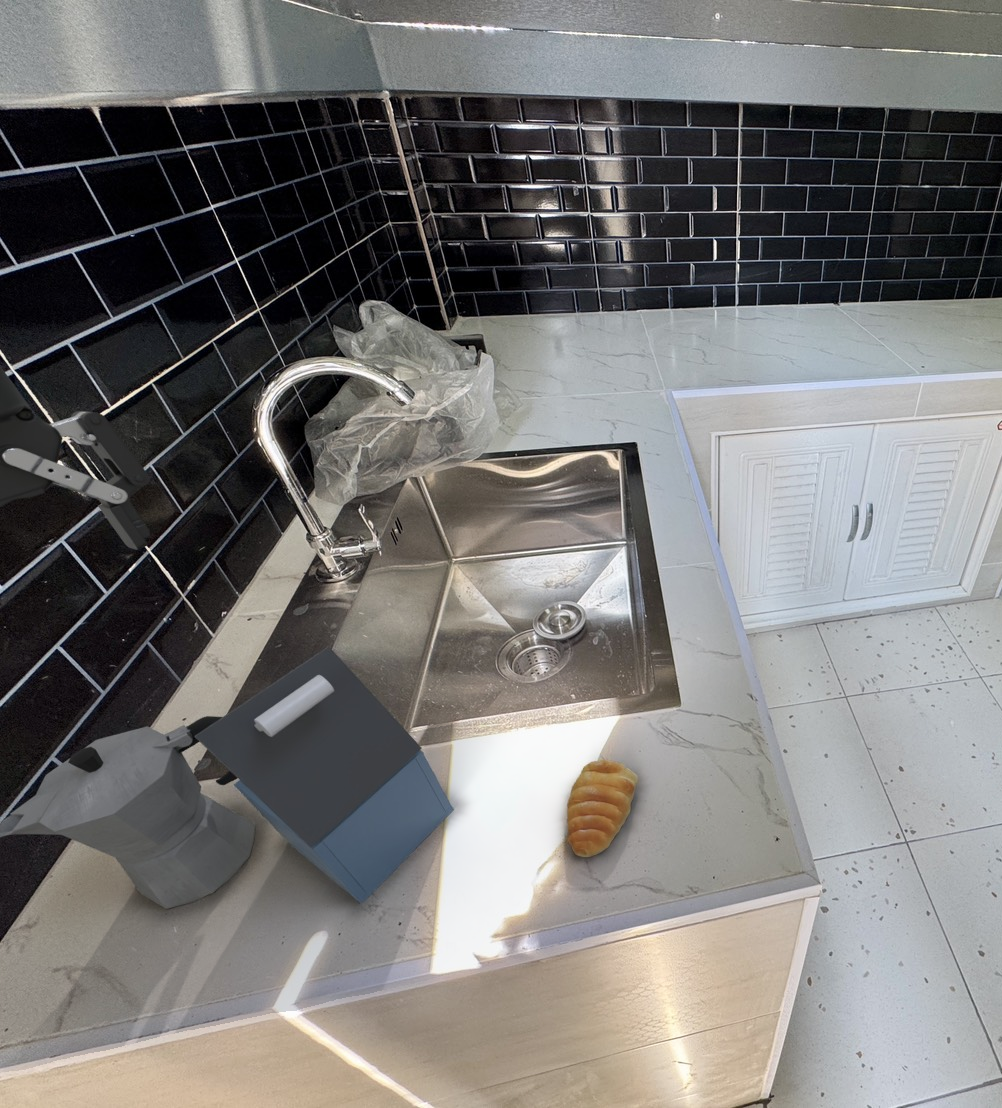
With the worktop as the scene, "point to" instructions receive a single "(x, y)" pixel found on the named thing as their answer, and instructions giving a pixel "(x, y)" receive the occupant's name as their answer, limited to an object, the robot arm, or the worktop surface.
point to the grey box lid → (311, 745)
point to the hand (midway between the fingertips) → (70, 574)
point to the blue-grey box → (373, 828)
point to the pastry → (599, 806)
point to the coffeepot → (143, 813)
